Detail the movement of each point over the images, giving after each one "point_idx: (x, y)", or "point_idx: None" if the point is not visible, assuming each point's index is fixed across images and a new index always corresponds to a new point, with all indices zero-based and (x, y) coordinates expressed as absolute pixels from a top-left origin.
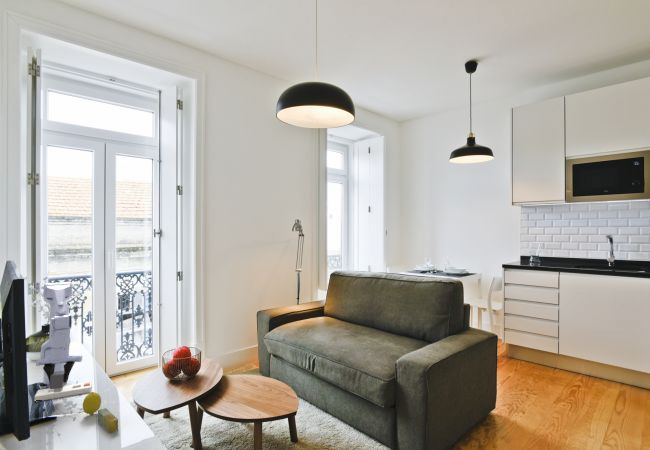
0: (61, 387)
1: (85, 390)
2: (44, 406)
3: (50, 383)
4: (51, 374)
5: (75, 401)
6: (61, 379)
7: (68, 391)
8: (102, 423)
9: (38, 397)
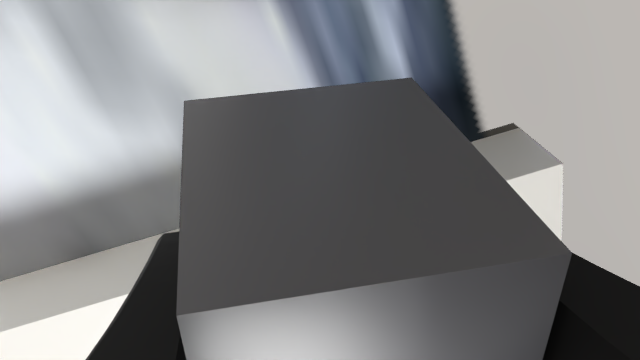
0: (203, 106)
1: (24, 303)
2: (389, 9)
3: (451, 131)
4: (557, 353)
5: (40, 79)
6: (217, 203)
7: None
8: None
9: (515, 166)
